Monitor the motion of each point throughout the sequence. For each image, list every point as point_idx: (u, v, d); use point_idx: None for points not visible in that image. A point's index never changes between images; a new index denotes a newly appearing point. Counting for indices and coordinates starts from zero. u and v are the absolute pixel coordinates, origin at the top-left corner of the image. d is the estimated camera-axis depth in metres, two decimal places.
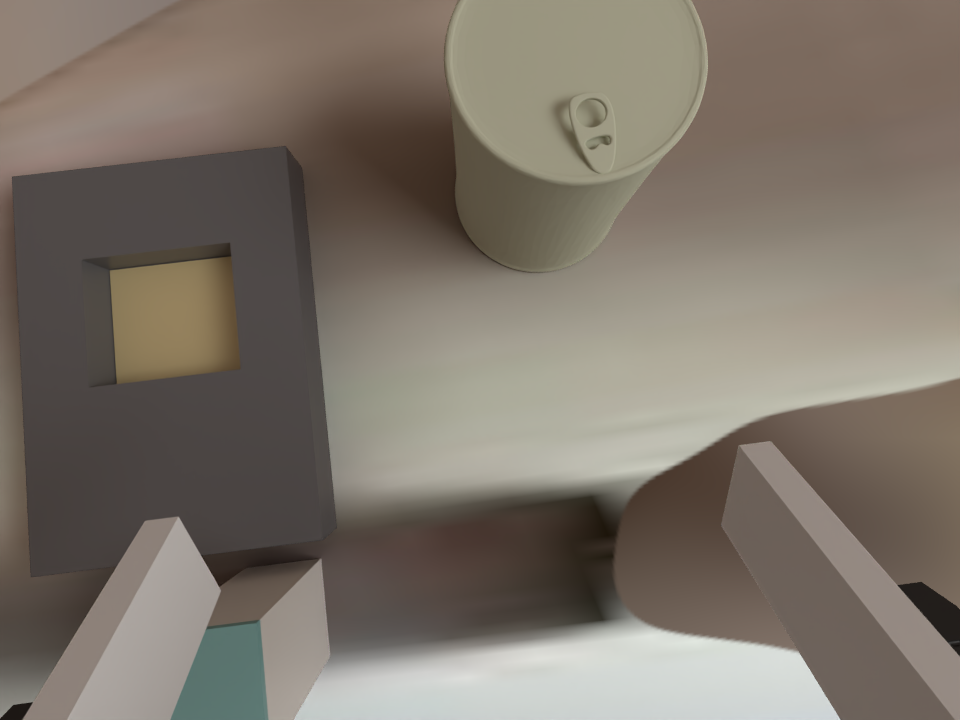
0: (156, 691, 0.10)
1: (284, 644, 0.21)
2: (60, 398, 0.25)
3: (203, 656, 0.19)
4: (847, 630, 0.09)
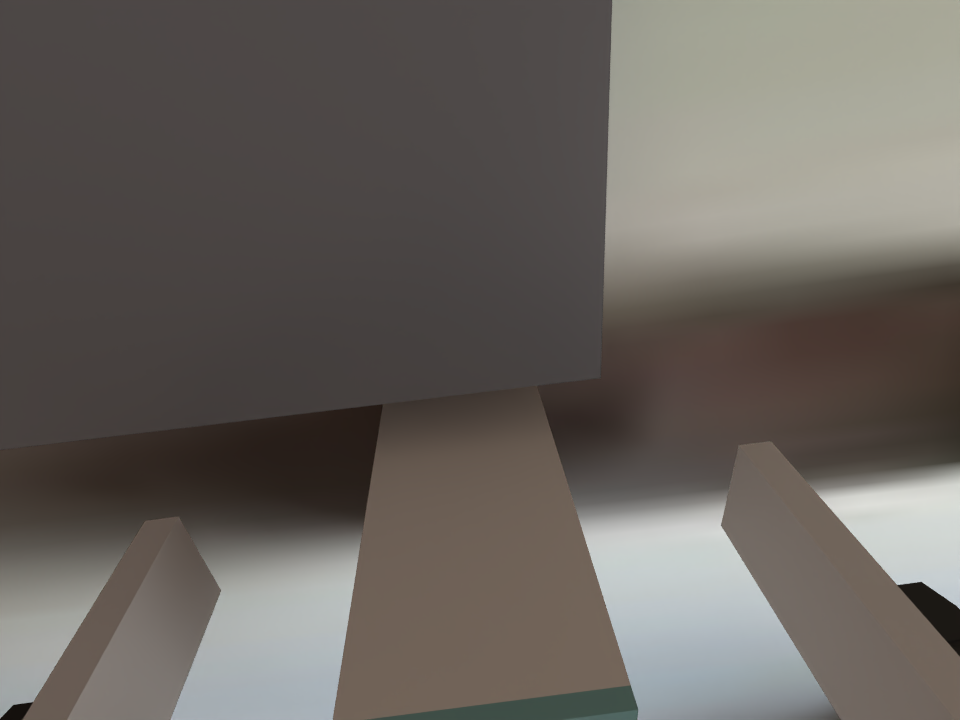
0: (156, 691, 0.10)
1: None
2: None
3: None
4: (847, 630, 0.09)
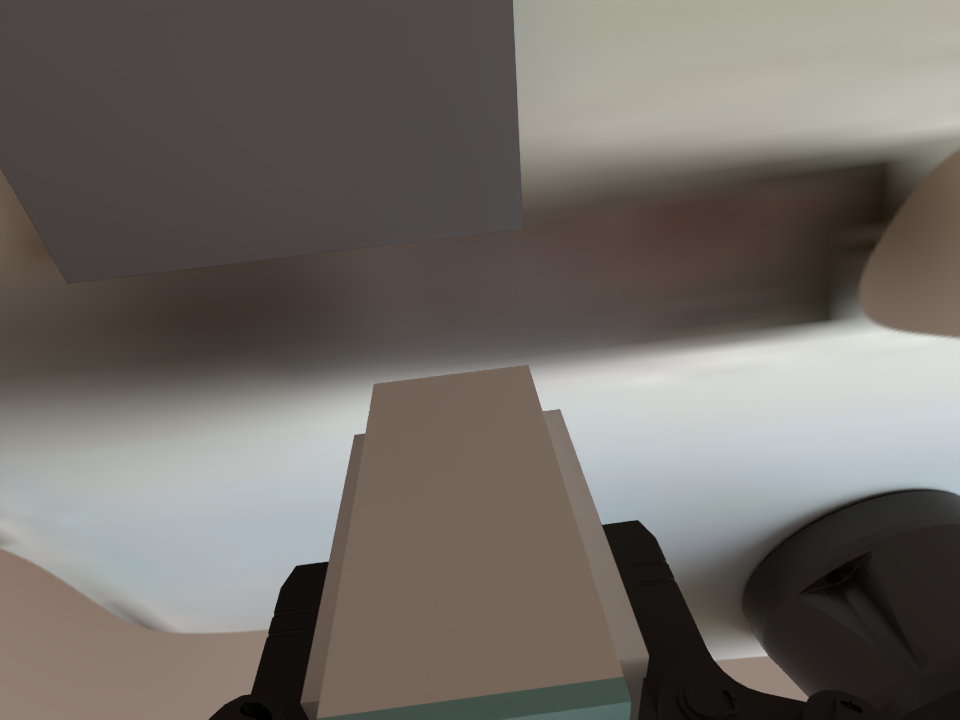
0: None
1: None
2: None
3: None
4: None
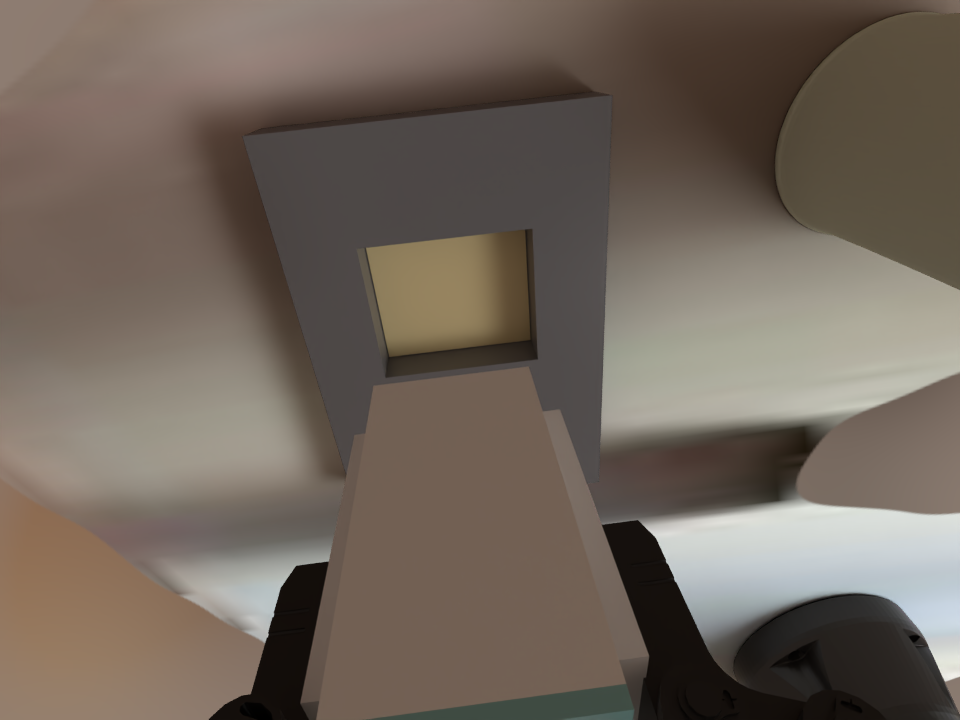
0: None
1: None
2: (358, 387, 0.25)
3: None
4: None
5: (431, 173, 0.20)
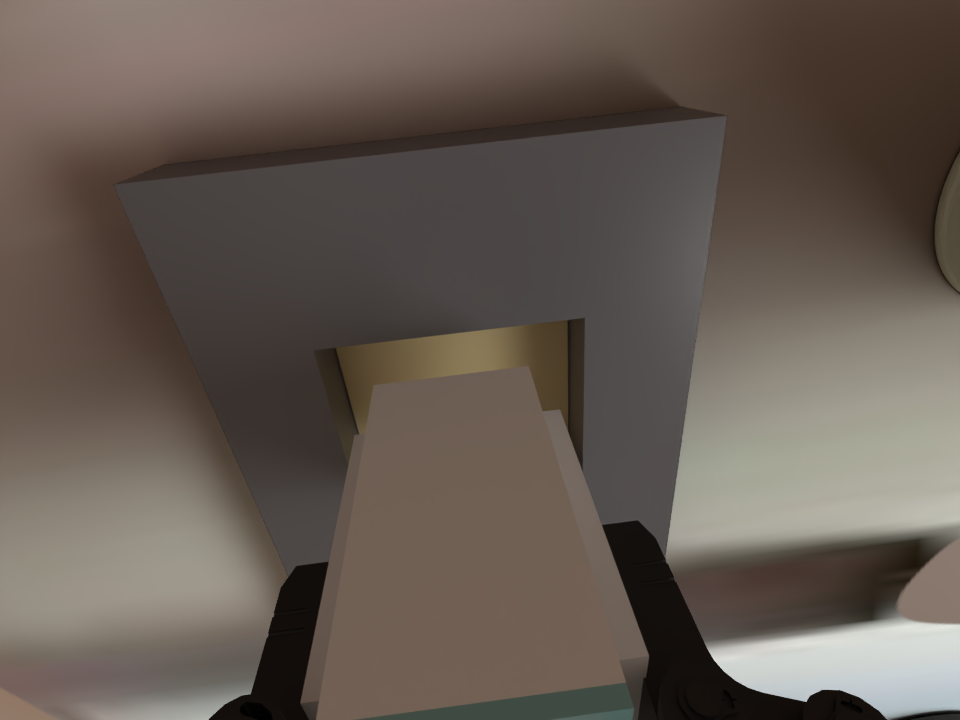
0: None
1: None
2: (325, 529, 0.17)
3: None
4: None
5: (428, 239, 0.13)
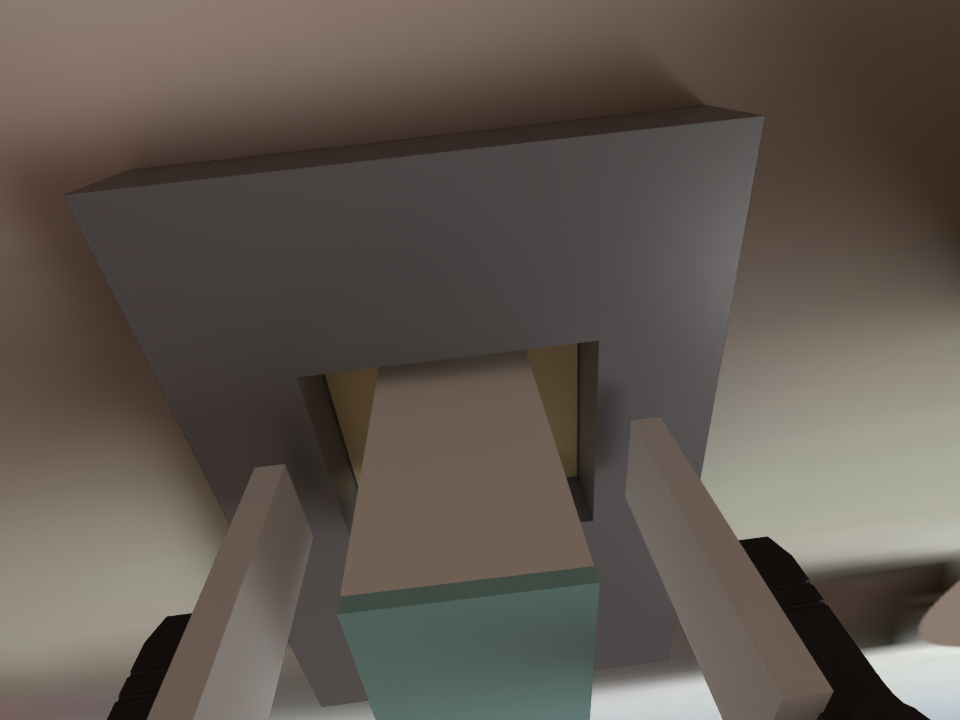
0: (278, 614, 0.11)
1: None
2: (313, 565, 0.16)
3: (471, 636, 0.08)
4: (695, 577, 0.10)
5: (425, 256, 0.11)
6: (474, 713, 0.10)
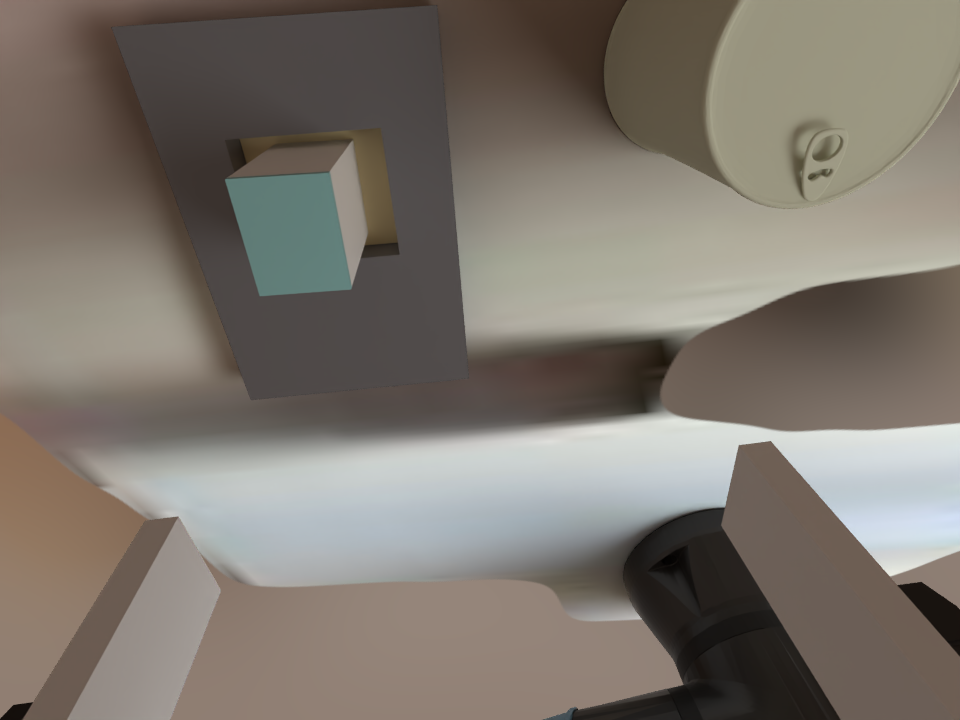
0: (156, 691, 0.10)
1: (345, 203, 0.23)
2: (239, 275, 0.28)
3: (281, 200, 0.20)
4: (847, 630, 0.09)
5: (284, 70, 0.23)
6: (292, 260, 0.22)
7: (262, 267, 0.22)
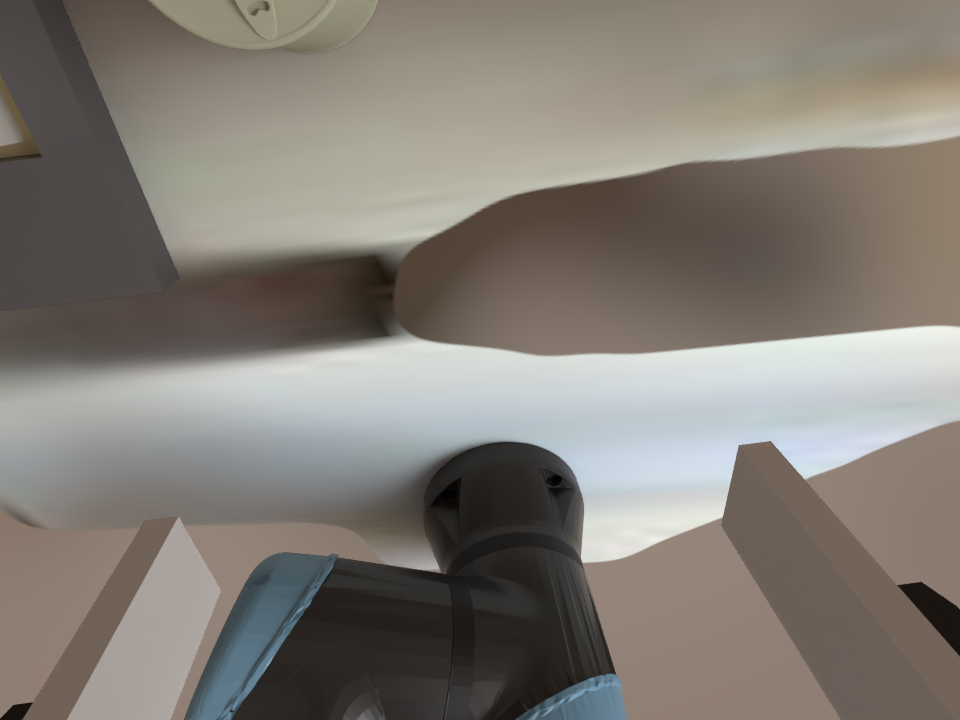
0: (156, 691, 0.10)
1: None
2: None
3: None
4: (847, 630, 0.09)
5: None
6: None
7: None
